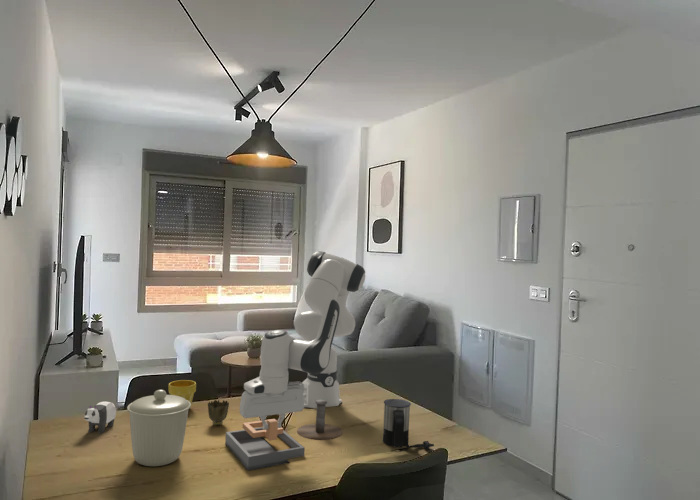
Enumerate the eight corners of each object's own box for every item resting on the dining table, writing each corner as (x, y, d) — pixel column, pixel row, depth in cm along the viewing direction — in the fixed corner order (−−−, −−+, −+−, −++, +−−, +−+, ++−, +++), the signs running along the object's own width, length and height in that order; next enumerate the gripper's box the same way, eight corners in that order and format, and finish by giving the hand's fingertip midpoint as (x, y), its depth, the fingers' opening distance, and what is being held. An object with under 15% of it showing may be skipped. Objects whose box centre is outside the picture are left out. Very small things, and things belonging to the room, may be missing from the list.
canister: (167, 443, 176) (170, 378, 175) (201, 460, 164) (203, 390, 164) (113, 459, 162) (116, 389, 161) (145, 478, 150) (148, 402, 150)
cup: (230, 422, 199) (231, 400, 199) (224, 429, 191) (225, 406, 191) (211, 420, 199) (212, 399, 199) (203, 427, 192) (204, 404, 192)
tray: (225, 444, 177) (225, 432, 177) (276, 436, 186) (277, 425, 186) (248, 470, 158) (248, 456, 158) (304, 460, 167) (304, 447, 167)
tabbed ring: (242, 427, 176) (243, 410, 176) (271, 423, 181) (272, 407, 181) (257, 442, 164) (258, 424, 164) (288, 437, 169) (289, 420, 169)
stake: (289, 431, 192) (290, 397, 192) (329, 425, 200) (330, 393, 200) (308, 447, 178) (310, 410, 178) (351, 440, 186) (352, 405, 186)
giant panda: (101, 422, 192) (103, 396, 192) (116, 424, 191) (118, 397, 191) (77, 437, 177) (78, 408, 177) (93, 439, 177) (94, 409, 177)
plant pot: (161, 410, 209) (162, 384, 209) (177, 402, 219) (178, 378, 219) (185, 413, 206) (186, 388, 206) (200, 406, 216) (201, 381, 216)
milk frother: (377, 442, 186) (379, 398, 186) (418, 438, 191) (420, 396, 191) (394, 458, 172) (396, 412, 172) (438, 454, 178) (440, 409, 177)
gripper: (300, 378, 175) (298, 421, 175) (238, 384, 165) (236, 429, 165) (308, 383, 170) (306, 427, 170) (245, 389, 159) (243, 436, 160)
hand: (271, 428), depth 167 cm, fingers closed on tabbed ring, 2 cm apart
